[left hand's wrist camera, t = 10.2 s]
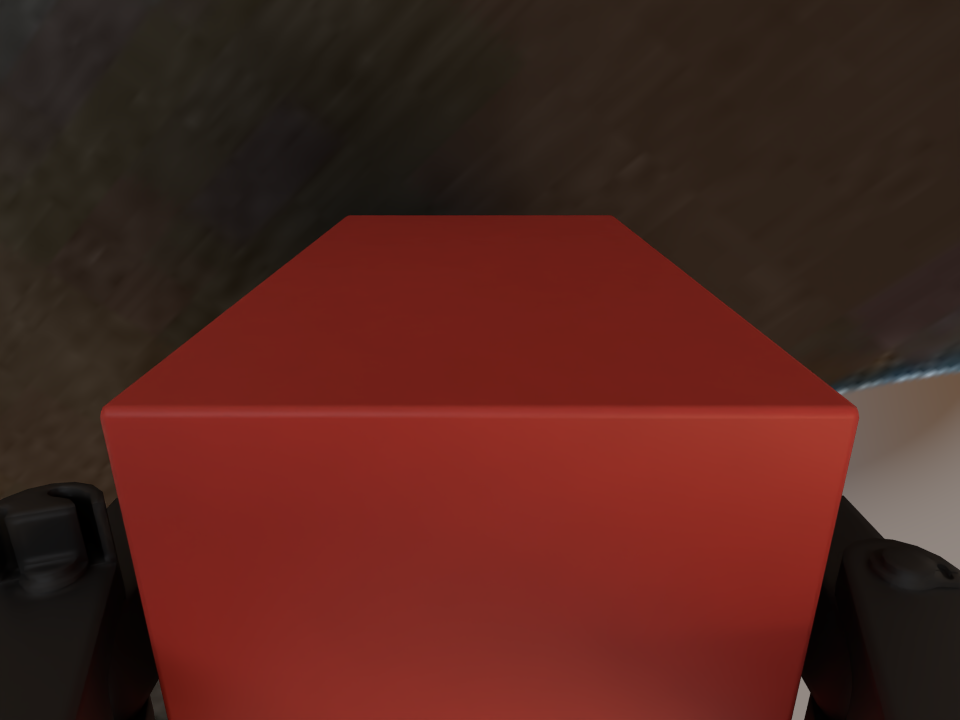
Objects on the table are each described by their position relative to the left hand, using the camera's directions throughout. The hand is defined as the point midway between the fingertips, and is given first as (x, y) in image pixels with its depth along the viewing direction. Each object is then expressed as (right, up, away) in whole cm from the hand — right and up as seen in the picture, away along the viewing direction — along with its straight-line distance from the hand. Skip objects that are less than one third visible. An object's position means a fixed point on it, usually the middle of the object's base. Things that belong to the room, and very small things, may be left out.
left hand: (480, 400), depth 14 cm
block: (0, +1, +3) cm, 3 cm away
